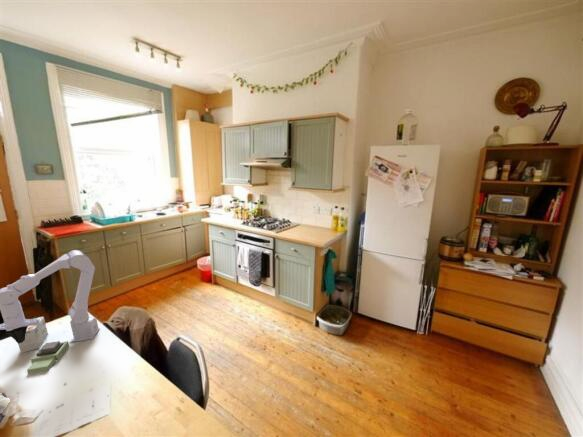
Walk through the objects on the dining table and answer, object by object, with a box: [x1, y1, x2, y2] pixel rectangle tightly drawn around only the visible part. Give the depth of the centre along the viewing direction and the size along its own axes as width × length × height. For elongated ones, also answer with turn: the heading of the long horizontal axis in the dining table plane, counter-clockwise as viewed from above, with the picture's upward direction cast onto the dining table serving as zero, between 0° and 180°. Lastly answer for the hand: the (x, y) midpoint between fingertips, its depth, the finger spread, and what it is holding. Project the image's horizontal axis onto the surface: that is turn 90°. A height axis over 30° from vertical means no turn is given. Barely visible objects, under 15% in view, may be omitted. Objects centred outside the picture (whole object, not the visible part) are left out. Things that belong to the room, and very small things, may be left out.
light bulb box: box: [17, 316, 49, 353], centre depth 118 cm, size 11×7×11 cm, turn 26°
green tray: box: [26, 340, 70, 375], centre depth 110 cm, size 10×14×3 cm
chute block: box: [35, 340, 63, 357], centre depth 112 cm, size 7×5×6 cm
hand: (21, 341), depth 108 cm, fingers closed
